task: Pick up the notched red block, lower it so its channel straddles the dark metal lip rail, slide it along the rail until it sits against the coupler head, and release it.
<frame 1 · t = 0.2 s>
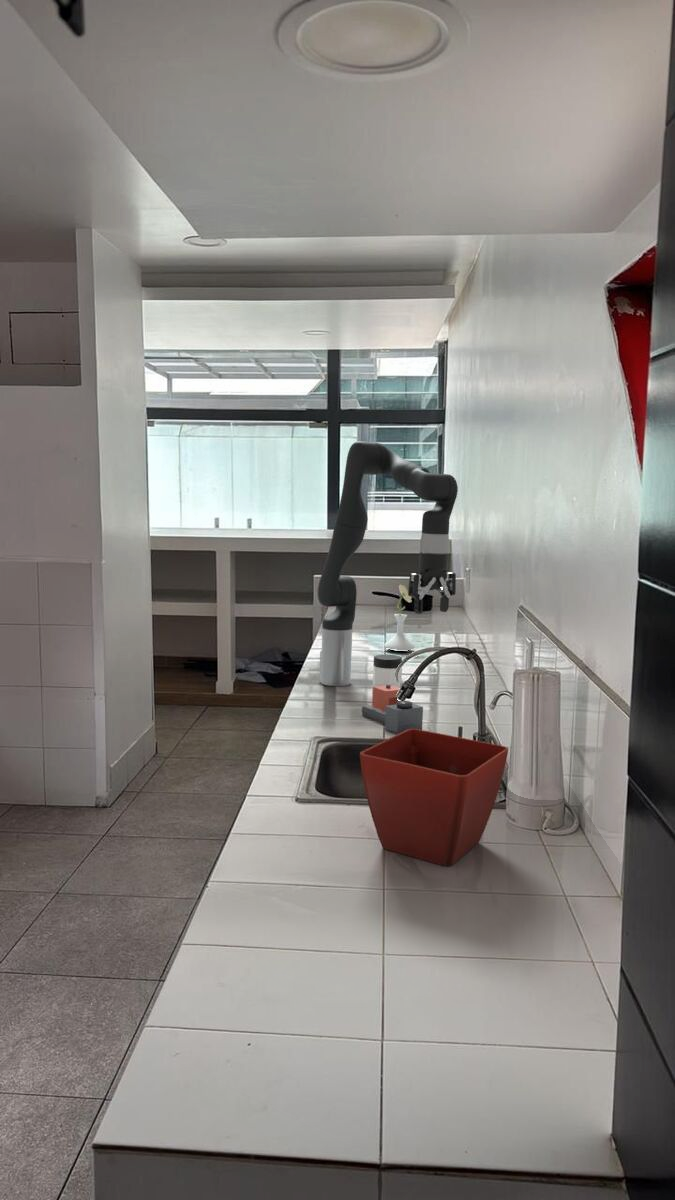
hand: (431, 612, 230), 28 cm above the counter, tool pointing down, fingers open, 8 cm apart
flower in vase: (399, 651, 328), on the counter
coupler: (380, 720, 227), on the counter
notched red block: (387, 709, 239), on the counter
jar: (386, 698, 253), on the counter
plant pot: (430, 847, 147), on the counter
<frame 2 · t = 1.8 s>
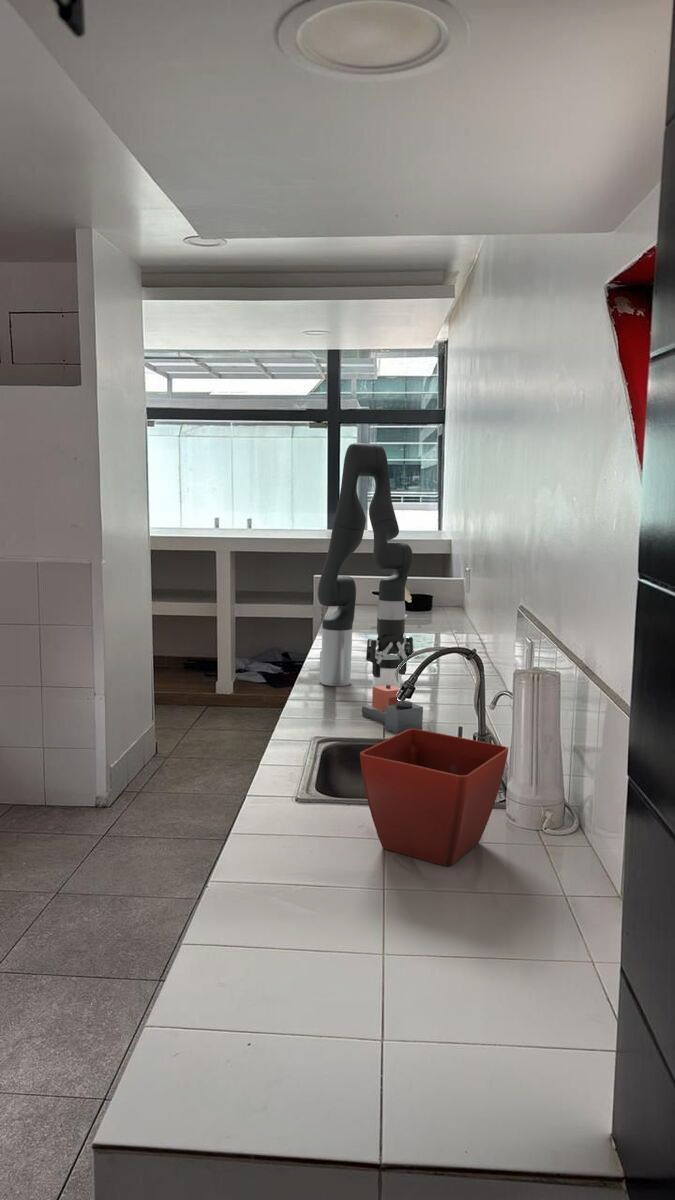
hand: (389, 675, 238), 9 cm above the counter, tool pointing down, fingers open, 8 cm apart
nothing on the counter moved.
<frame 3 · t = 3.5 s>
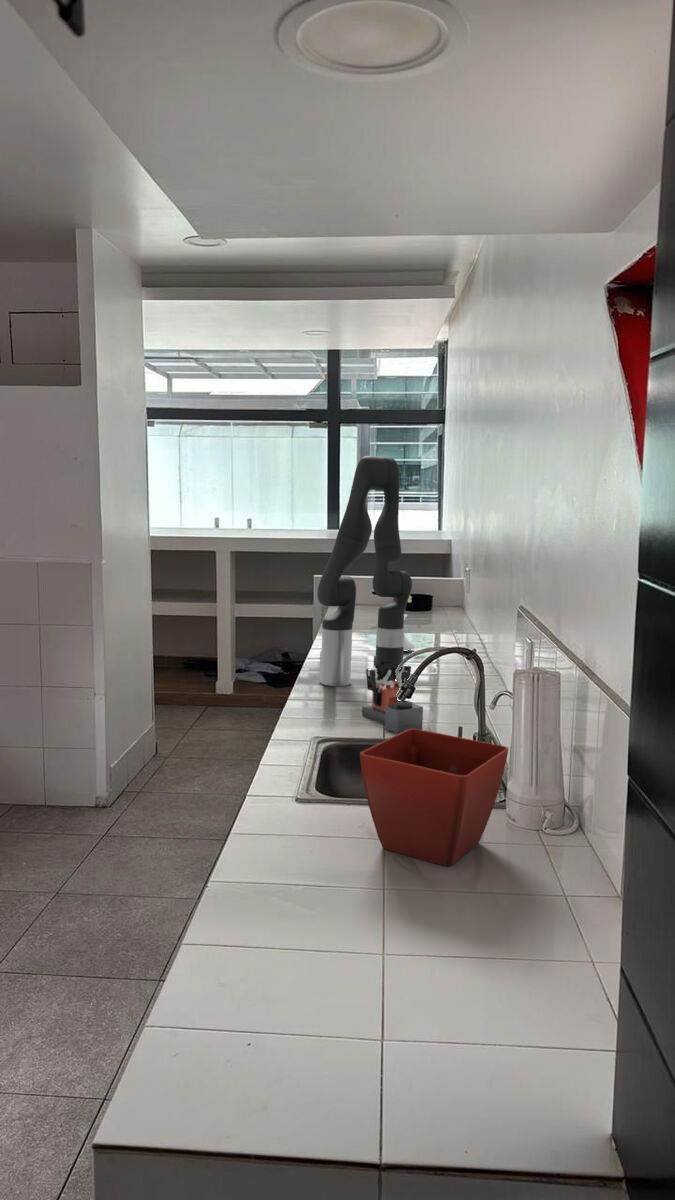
hand: (387, 704, 239), 1 cm above the counter, tool pointing down, fingers closed on notched red block, 6 cm apart
notched red block: (387, 709, 239), on the counter, touching gripper
everything else where it was.
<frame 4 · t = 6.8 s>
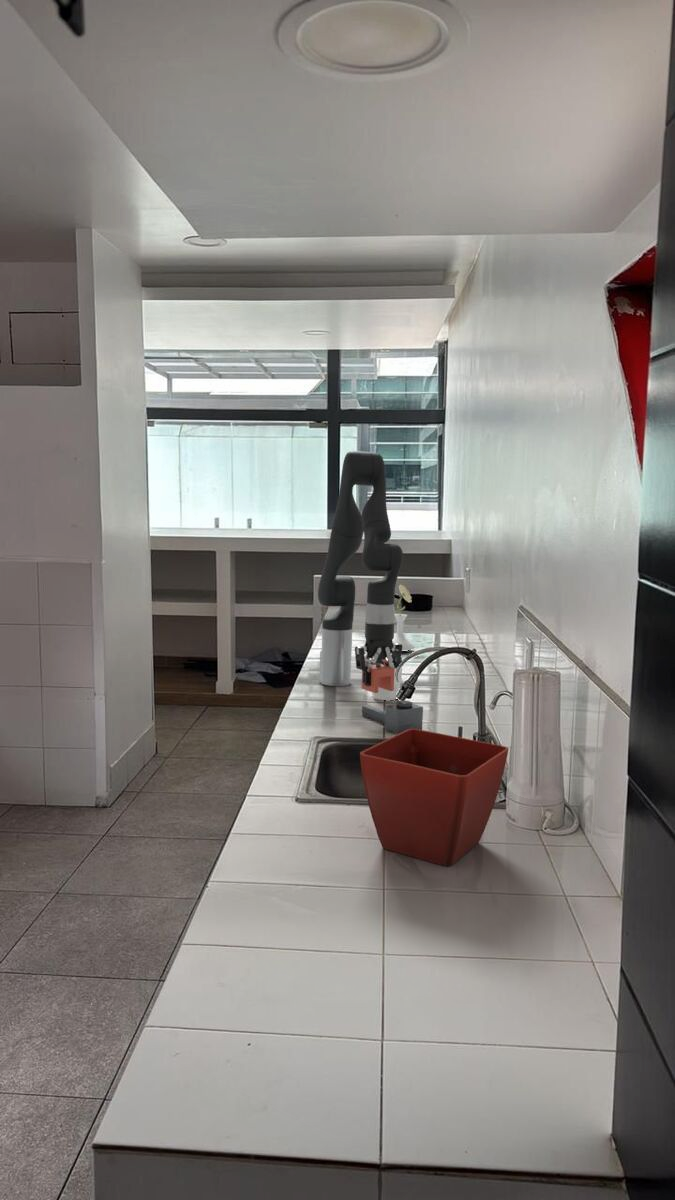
hand: (377, 684, 227), 9 cm above the counter, tool pointing down, fingers closed on notched red block, 6 cm apart
notched red block: (377, 689, 228), point 8 cm above the counter, touching gripper
everything else where it was.
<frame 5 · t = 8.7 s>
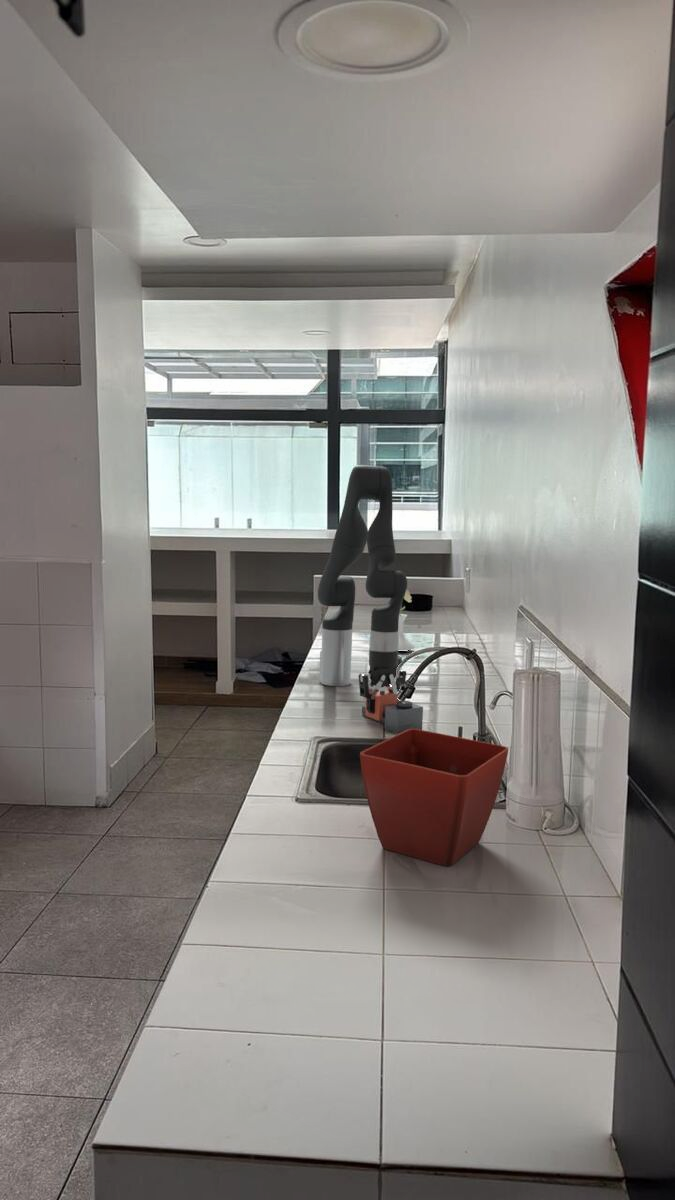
hand: (381, 711, 226), 3 cm above the counter, tool pointing down, fingers closed on notched red block, 6 cm apart
notched red block: (381, 716, 226), point 1 cm above the counter, touching gripper
everything else where it was.
when the fingers open (2 cm above the counter, at t = 10.2 s): notched red block drops 1 cm, resting in coupler.
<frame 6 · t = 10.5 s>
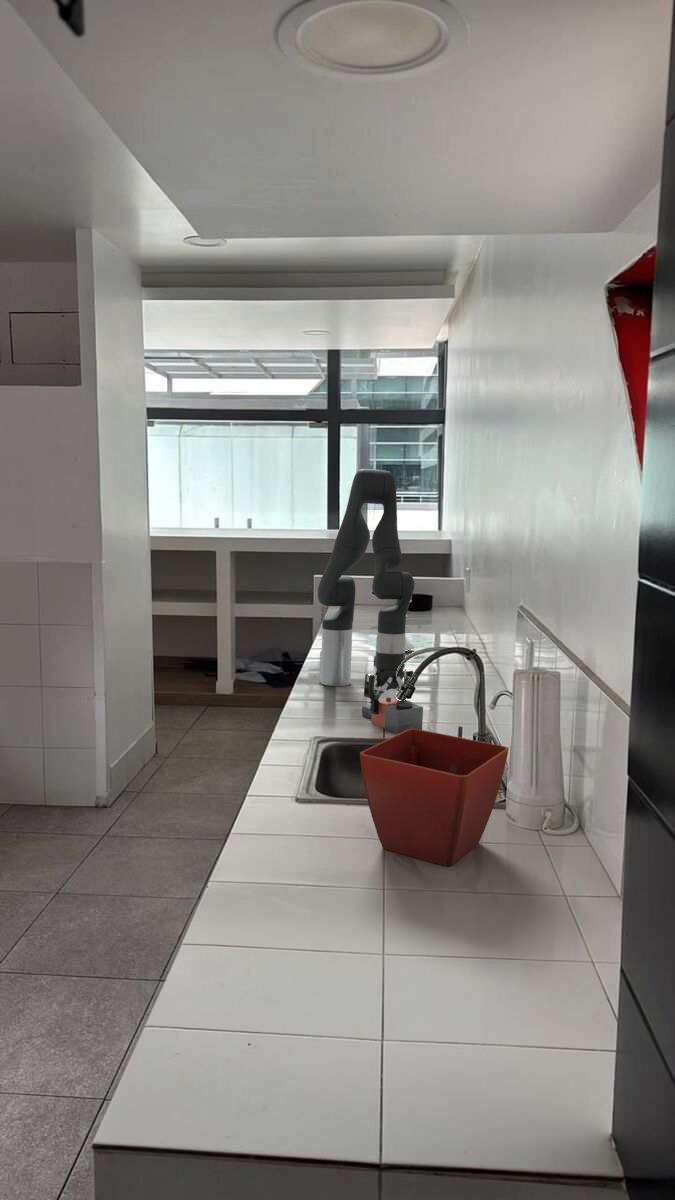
hand: (388, 711, 224), 3 cm above the counter, tool pointing down, fingers open, 8 cm apart
notched red block: (387, 723, 225), resting in coupler
everything else where it was.
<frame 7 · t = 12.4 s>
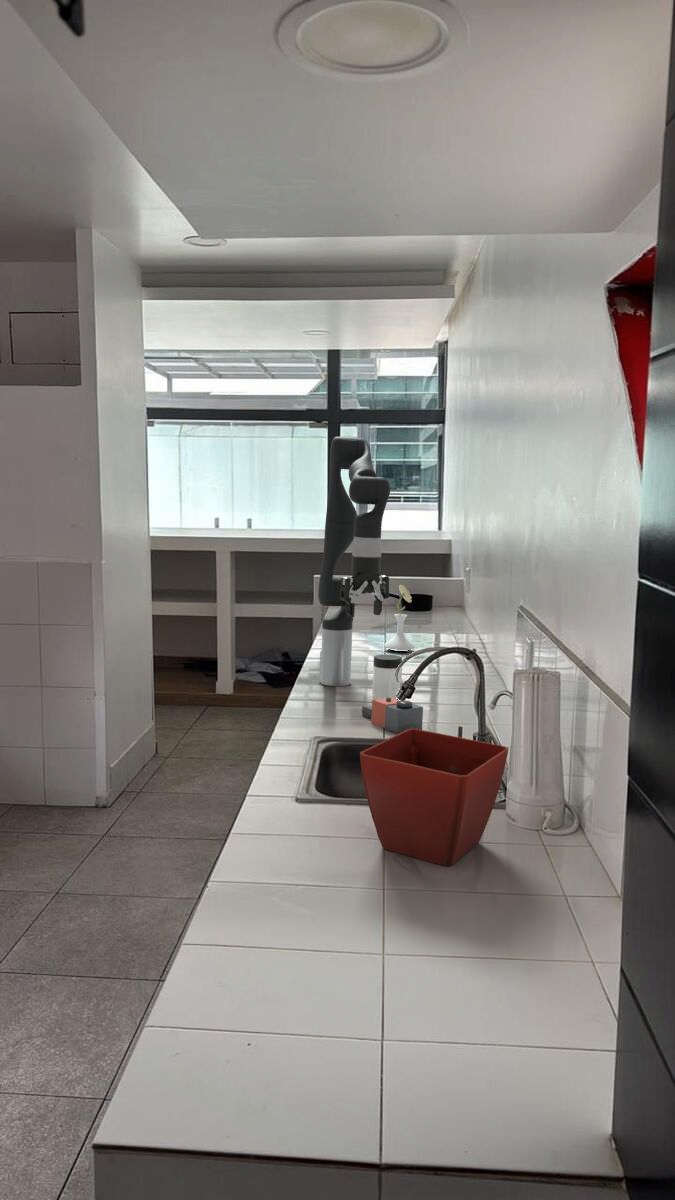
hand: (363, 615, 229), 27 cm above the counter, tool pointing down, fingers open, 8 cm apart
nothing on the counter moved.
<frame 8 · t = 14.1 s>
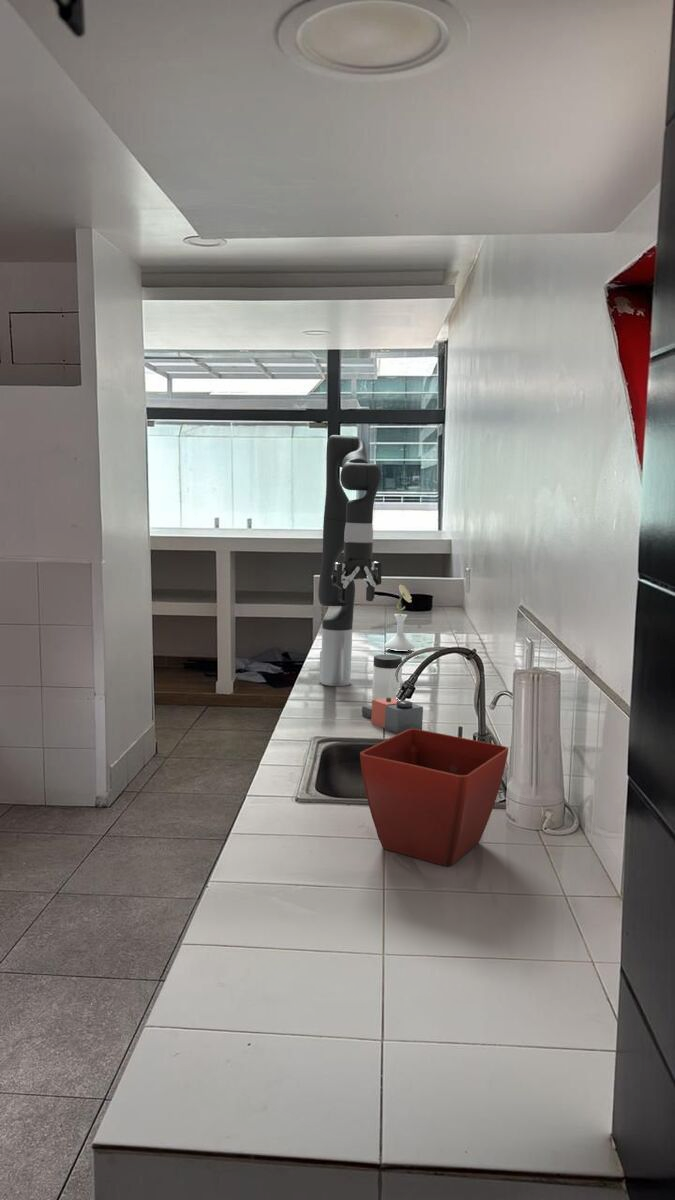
hand: (356, 601, 230), 30 cm above the counter, tool pointing down, fingers open, 8 cm apart
nothing on the counter moved.
at the end: notched red block inside the target area on the coupler (0.4 cm from its centre), point 0.0 cm above the coupler's base; notched red block tilted 0°; the gripper is holding nothing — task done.
